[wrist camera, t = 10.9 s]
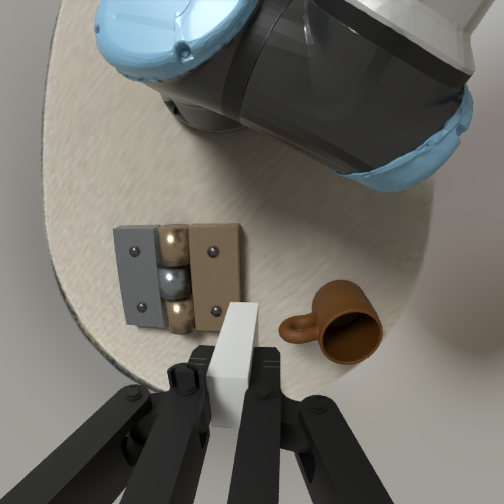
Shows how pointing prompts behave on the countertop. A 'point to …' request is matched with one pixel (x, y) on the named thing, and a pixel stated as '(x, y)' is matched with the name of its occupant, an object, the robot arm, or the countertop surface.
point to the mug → (337, 324)
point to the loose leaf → (146, 276)
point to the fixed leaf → (202, 273)
